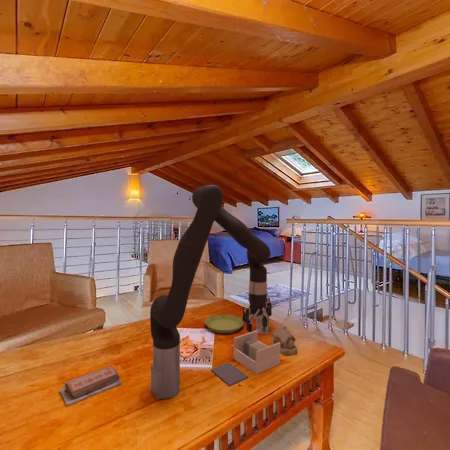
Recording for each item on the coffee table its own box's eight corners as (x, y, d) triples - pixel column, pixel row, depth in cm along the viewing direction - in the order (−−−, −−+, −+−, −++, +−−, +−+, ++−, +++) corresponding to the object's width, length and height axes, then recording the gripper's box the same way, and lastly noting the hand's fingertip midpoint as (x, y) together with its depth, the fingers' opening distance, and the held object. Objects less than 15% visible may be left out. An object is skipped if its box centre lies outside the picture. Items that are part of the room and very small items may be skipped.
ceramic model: (266, 342, 138) (267, 322, 138) (286, 339, 142) (287, 319, 142) (282, 357, 125) (283, 335, 125) (304, 353, 129) (304, 331, 129)
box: (260, 368, 116) (260, 351, 116) (244, 357, 124) (244, 341, 124) (269, 364, 119) (269, 348, 119) (252, 354, 127) (253, 338, 127)
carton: (256, 374, 112) (256, 352, 112) (233, 358, 124) (233, 337, 123) (279, 363, 120) (280, 342, 119) (256, 349, 131) (256, 330, 131)
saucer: (199, 322, 160) (199, 317, 160) (232, 317, 169) (232, 311, 169) (213, 338, 141) (214, 332, 141) (250, 331, 150) (250, 325, 150)
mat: (229, 386, 105) (229, 384, 105) (211, 370, 114) (211, 369, 114) (248, 377, 110) (248, 376, 110) (229, 363, 120) (229, 362, 120)
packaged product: (111, 361, 112) (121, 372, 104) (111, 373, 112) (121, 385, 105) (58, 379, 100) (66, 394, 92) (59, 393, 100) (66, 408, 93)
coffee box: (257, 326, 157) (258, 296, 155) (269, 327, 155) (270, 297, 154) (255, 333, 148) (256, 302, 146) (268, 334, 146) (269, 303, 145)
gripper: (251, 296, 112) (250, 337, 114) (276, 290, 121) (275, 328, 122) (238, 291, 118) (238, 330, 120) (264, 286, 127) (263, 321, 128)
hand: (257, 329), depth 121 cm, fingers open, 8 cm apart
